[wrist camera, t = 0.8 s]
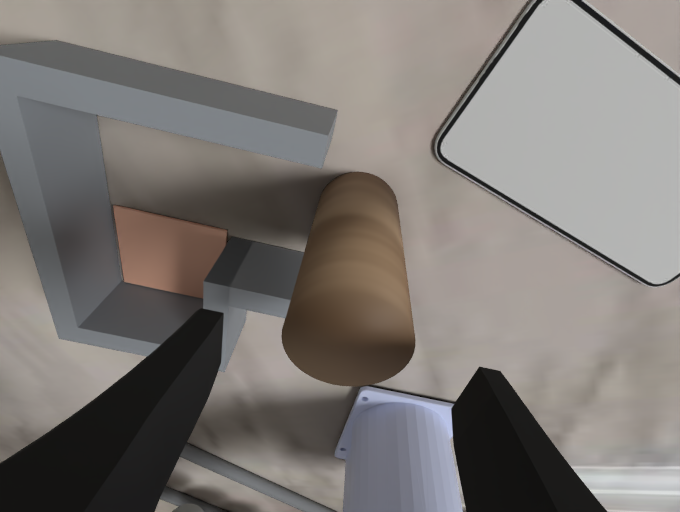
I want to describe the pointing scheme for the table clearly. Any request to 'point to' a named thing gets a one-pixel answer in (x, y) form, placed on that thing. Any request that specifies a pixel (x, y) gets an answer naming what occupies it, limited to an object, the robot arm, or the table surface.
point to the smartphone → (578, 136)
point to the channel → (134, 225)
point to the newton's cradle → (192, 508)
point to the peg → (352, 288)
